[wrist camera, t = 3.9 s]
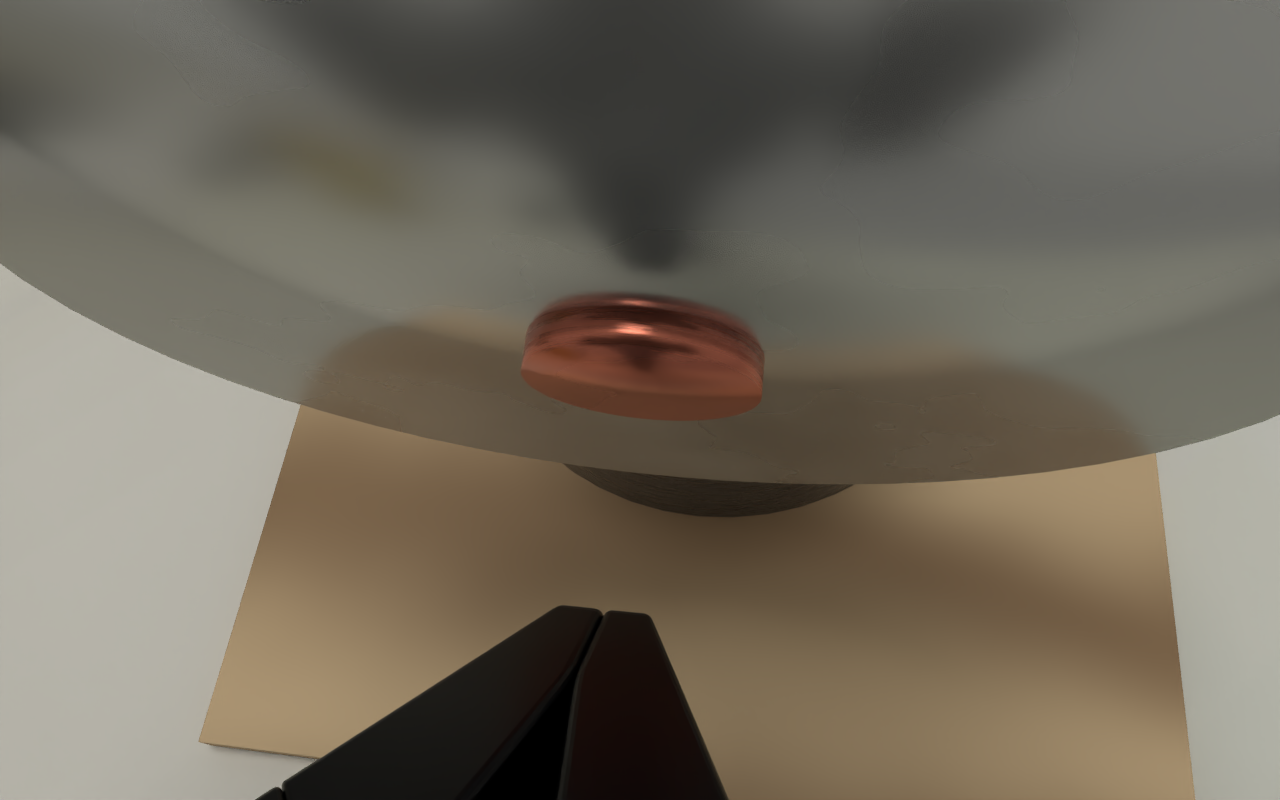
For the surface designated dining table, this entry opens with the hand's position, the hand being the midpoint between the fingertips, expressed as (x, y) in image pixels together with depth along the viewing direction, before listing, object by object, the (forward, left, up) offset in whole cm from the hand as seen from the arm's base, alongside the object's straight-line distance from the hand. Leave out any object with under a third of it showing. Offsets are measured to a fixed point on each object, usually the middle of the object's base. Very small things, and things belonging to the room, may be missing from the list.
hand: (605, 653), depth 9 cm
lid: (+3, -2, +1) cm, 4 cm away
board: (+9, -7, -13) cm, 17 cm away
